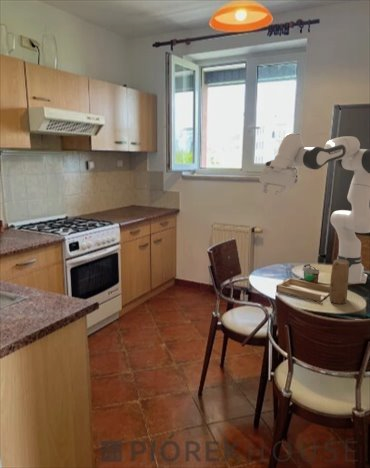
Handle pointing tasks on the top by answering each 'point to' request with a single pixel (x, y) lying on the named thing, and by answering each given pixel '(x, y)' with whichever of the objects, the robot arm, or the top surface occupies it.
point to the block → (339, 281)
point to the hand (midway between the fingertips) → (270, 193)
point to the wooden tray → (304, 289)
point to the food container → (310, 274)
